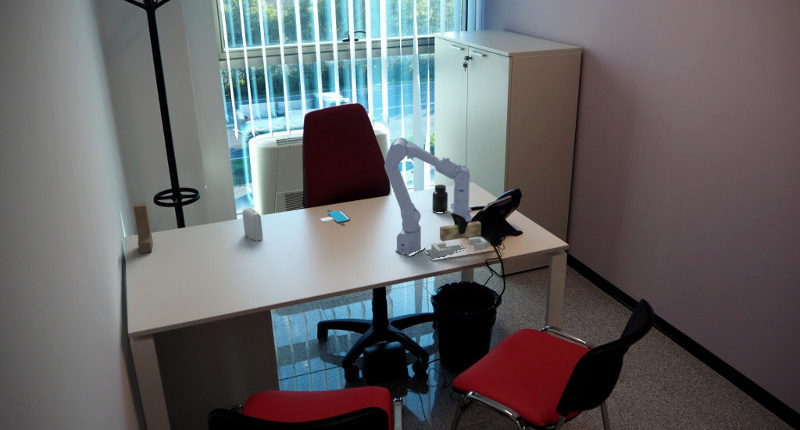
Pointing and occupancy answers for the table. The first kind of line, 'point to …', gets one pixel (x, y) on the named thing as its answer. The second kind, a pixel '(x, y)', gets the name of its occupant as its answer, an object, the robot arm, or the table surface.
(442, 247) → the cradle
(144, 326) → the table surface
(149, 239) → the wooden block
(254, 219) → the photo printer
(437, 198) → the supplement bottle
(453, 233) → the slat
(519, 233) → the table surface
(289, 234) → the table surface
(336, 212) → the phone stand
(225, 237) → the table surface
